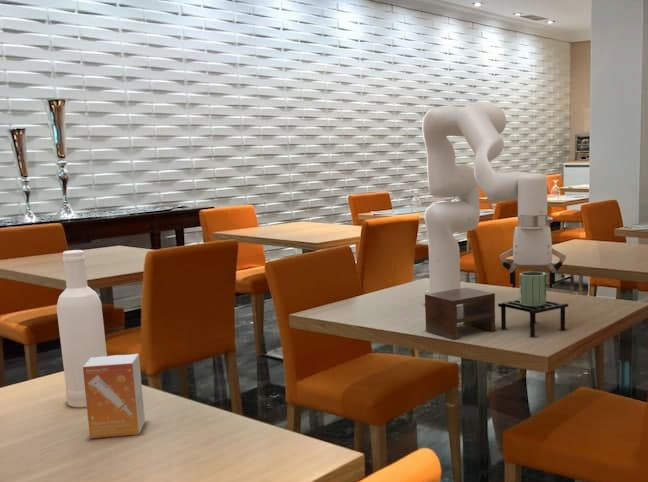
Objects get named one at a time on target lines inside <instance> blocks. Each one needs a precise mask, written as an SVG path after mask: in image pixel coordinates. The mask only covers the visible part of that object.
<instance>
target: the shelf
mask: <svg viewBox="0 0 648 482" xmlns="http://www.w3.org/2000/svg"><path fill="white" fill-rule="evenodd" d="M459 304H463V306H459V307H457V305H459ZM424 309H425V310H424V311H425V332H426V333H427V332H428V333H430V334H434V335H437V336H441V337H444V338H447V339H450V340H457V339H458V324H461V323H463V324H464V325H466V326H467V325H468V326H471V327H474V328H478V329H482V330H486V331H490V332H495V331H496V293H495V292H489V291H484V290H479V289H475V288H471V287H460V289H454V290H448V291H442V292H436V293H430V294H424Z"/></svg>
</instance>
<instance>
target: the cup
mask: <svg viewBox="0 0 648 482" xmlns="http://www.w3.org/2000/svg"><path fill="white" fill-rule="evenodd" d="M519 300H520V304H521V305H524V306H542V305H545V304H546V301H547V273H546V272H543V271H523V272H520V273H519Z"/></svg>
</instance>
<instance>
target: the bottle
mask: <svg viewBox="0 0 648 482" xmlns="http://www.w3.org/2000/svg"><path fill="white" fill-rule="evenodd" d="M61 261H62V262H63V268H64V269H63V270H64V276H65V277H64V278H65V286H66V288H65V289H64V290H63V291H62V292H61V293H60V295H59V296H58V299H57V303H56V314H57V322H58V330H59V331H58V332H59V338H60V339H59V340H60V348H61V356H62V366H63V375H64V383H65V396H66V399H67V405H68V406H70V407H72V408H87V404H86V394H85V384H84V374H83V366H84V365H85V364H86V363H87V361H88V360H89V359H90V358H91V357H105V356H108V353H107V344H106V343H107V342H106V336H105V334H106V333H105V324H104V317H103V307H102V301H101V299H100V297H99V295H98V293H97V292H96V291H95V290H93V289H92V288H91V287H90V286H88V277H87V270H86V256H85V251H84V250H82V249H72V250H64V251H63V252H62V260H61Z"/></svg>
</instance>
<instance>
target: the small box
mask: <svg viewBox="0 0 648 482" xmlns="http://www.w3.org/2000/svg"><path fill="white" fill-rule="evenodd" d="M140 362H141V361H140V353H131V354H115V355H114V354H113V355H107V356H105V357H91V358H90V359H89V360H88V361H87V363H86V364H85V365H84V366H83V374H84V384H85V394H86V404H87V407H86V414H87V421H88V432H89V438H90V439H97V438H98V439H99V438H109V437H121V436H123V437H124V436H133V435H134V436H138V435H140V433H141V431H142V429H143V426H144V425H145V423H146V417H145V416H146V415H145V405H144V396H143V395H144V394H143V385H142V374H141V373H142V372H141V363H140Z"/></svg>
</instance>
